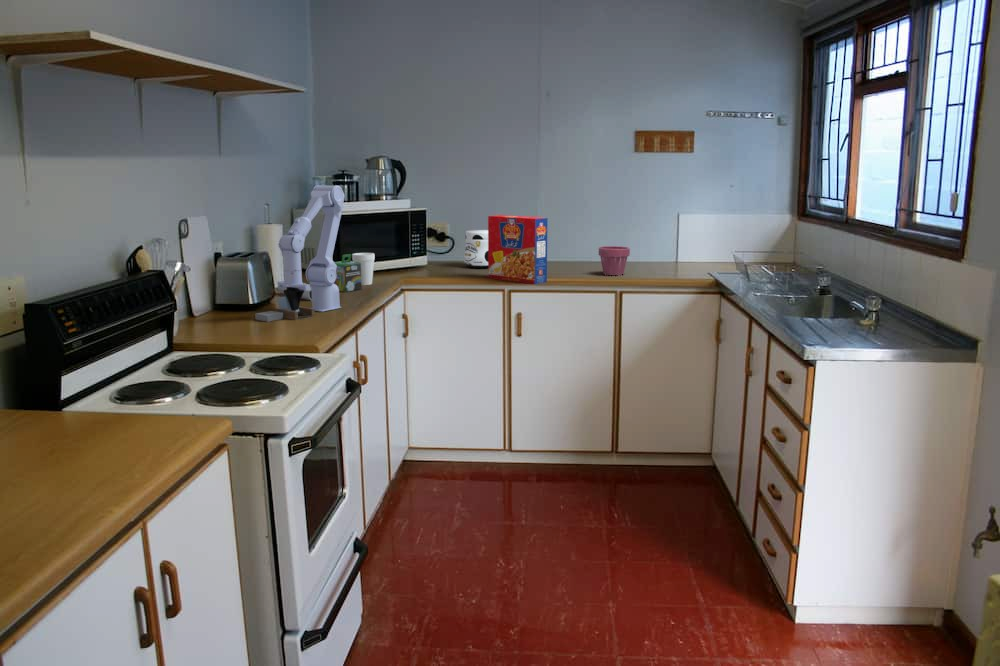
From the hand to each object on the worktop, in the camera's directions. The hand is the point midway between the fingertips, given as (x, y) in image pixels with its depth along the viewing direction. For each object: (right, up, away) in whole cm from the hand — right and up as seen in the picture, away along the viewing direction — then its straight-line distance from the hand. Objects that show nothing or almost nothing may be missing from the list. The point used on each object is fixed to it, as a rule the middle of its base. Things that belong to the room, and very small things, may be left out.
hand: (295, 309), depth 271 cm
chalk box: (+7, +10, +56) cm, 57 cm away
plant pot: (+123, +19, +99) cm, 159 cm away
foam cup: (+11, +13, +72) cm, 74 cm away
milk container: (+61, +25, +127) cm, 143 cm away
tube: (-9, +6, +40) cm, 42 cm away
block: (-2, -1, +2) cm, 3 cm away
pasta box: (+78, +15, +83) cm, 115 cm away
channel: (0, -2, 0) cm, 2 cm away
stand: (-7, -3, -5) cm, 9 cm away
